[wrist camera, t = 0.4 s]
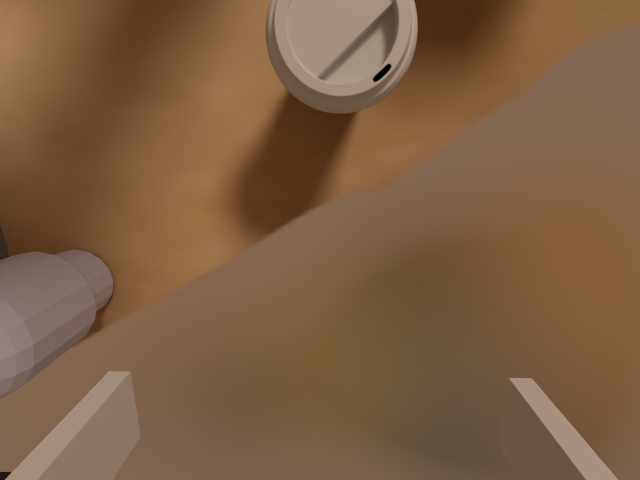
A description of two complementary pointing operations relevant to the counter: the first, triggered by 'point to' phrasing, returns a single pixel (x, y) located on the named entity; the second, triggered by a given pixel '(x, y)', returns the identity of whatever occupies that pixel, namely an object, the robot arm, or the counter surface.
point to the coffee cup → (341, 49)
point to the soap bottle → (46, 309)
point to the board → (2, 248)
